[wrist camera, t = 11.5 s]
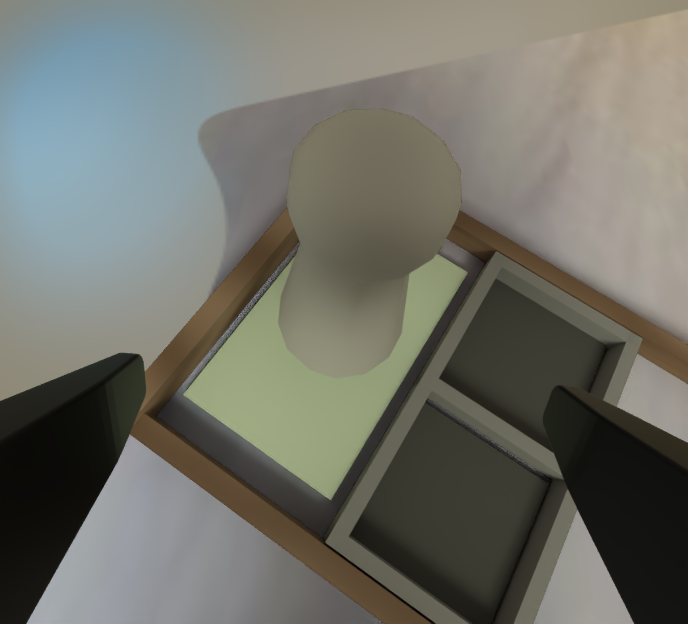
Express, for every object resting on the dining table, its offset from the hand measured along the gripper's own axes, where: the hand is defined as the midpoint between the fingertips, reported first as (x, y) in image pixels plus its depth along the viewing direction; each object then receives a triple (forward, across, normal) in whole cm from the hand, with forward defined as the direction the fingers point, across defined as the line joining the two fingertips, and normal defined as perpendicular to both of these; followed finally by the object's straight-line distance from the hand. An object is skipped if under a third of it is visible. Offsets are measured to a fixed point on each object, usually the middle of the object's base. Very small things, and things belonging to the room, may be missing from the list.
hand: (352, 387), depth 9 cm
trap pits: (+9, -8, +8) cm, 14 cm away
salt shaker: (+12, 0, +5) cm, 13 cm away
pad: (+12, 0, +5) cm, 13 cm away
